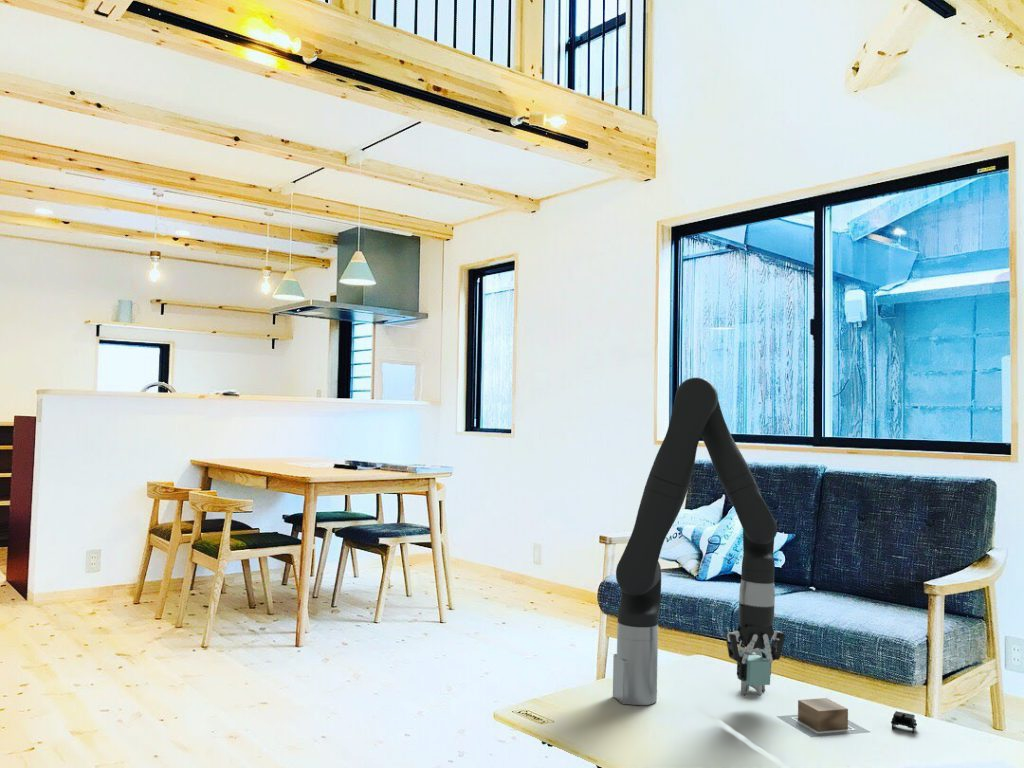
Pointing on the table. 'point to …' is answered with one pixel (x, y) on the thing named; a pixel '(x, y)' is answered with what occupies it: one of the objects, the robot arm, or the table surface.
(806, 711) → the walnut block
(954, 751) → the table surface
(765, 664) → the teal cube
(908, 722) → the black stepped block
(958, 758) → the table surface
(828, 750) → the table surface
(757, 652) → the dog figurine
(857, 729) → the board
